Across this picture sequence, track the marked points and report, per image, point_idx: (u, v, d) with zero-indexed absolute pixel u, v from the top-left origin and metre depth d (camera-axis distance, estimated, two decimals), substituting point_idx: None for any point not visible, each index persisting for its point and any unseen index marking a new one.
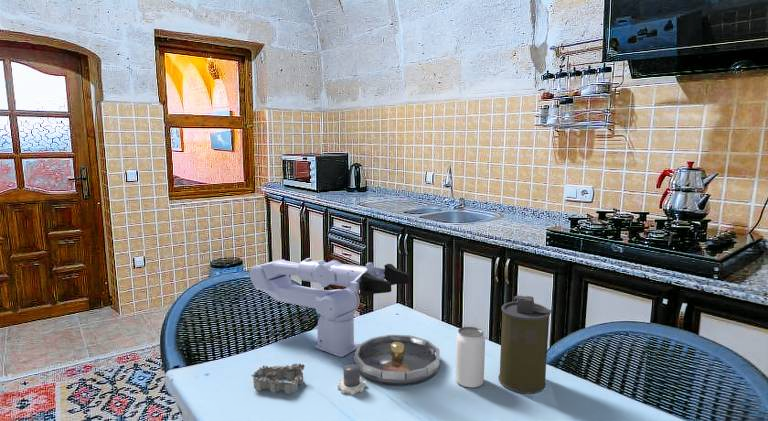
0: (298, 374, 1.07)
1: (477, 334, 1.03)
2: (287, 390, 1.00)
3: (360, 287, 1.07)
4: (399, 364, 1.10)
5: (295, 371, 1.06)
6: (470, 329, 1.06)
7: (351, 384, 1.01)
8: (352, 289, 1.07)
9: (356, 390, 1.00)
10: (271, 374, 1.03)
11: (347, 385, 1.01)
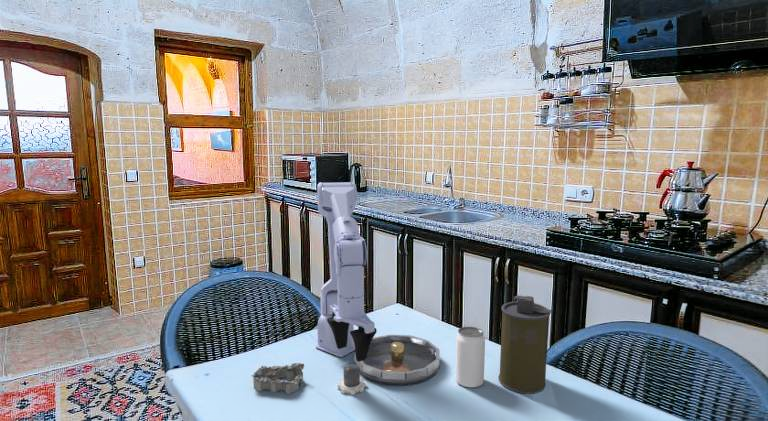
0: (297, 373, 1.07)
1: (477, 334, 1.03)
2: (288, 389, 1.00)
3: None
4: (399, 364, 1.10)
5: (295, 371, 1.07)
6: (470, 329, 1.06)
7: (351, 384, 1.01)
8: None
9: (356, 390, 1.00)
10: (271, 374, 1.03)
11: (347, 385, 1.01)
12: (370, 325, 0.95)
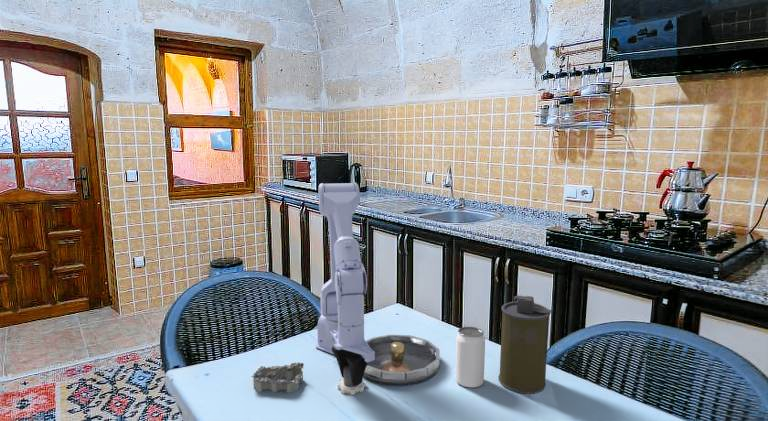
0: (297, 373, 1.07)
1: (477, 334, 1.03)
2: (289, 389, 1.00)
3: None
4: (399, 364, 1.10)
5: (294, 370, 1.07)
6: (470, 329, 1.06)
7: (351, 384, 1.01)
8: None
9: (356, 390, 1.00)
10: (271, 374, 1.03)
11: (347, 385, 1.01)
12: (370, 354, 0.96)
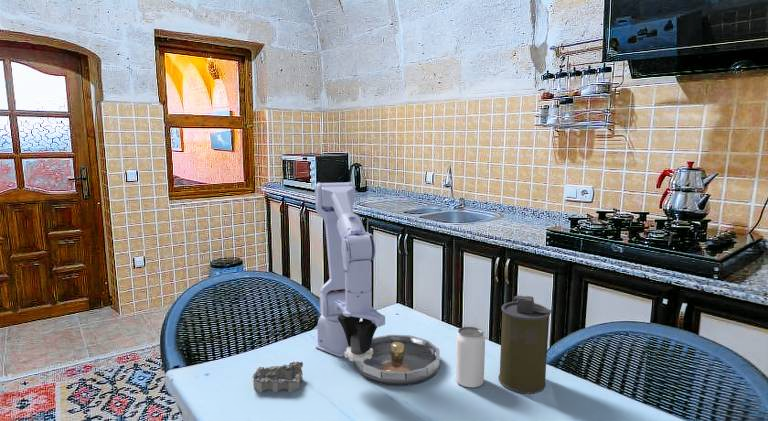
0: (296, 372, 1.07)
1: (477, 334, 1.03)
2: (291, 388, 1.01)
3: None
4: (399, 364, 1.10)
5: (293, 370, 1.07)
6: (470, 329, 1.06)
7: (359, 351, 1.01)
8: None
9: (365, 357, 1.00)
10: (271, 374, 1.03)
11: (355, 353, 1.01)
12: (381, 318, 0.96)
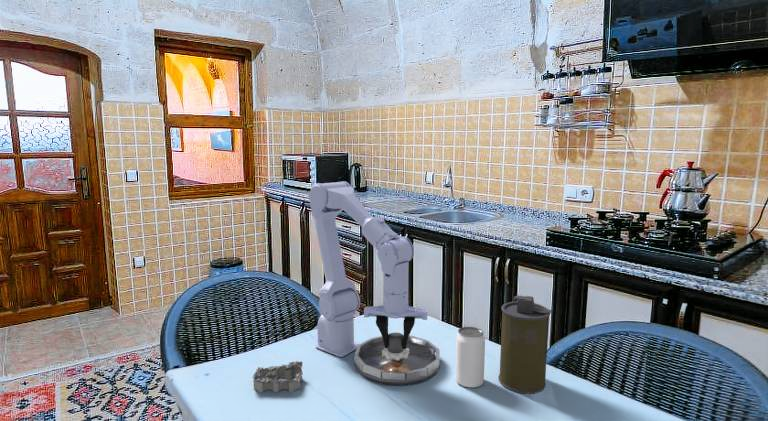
0: (295, 372, 1.08)
1: (477, 334, 1.03)
2: (291, 387, 1.01)
3: None
4: (399, 364, 1.10)
5: (292, 369, 1.07)
6: (470, 329, 1.06)
7: (401, 349, 1.06)
8: None
9: None
10: (271, 374, 1.03)
11: (397, 352, 1.05)
12: None
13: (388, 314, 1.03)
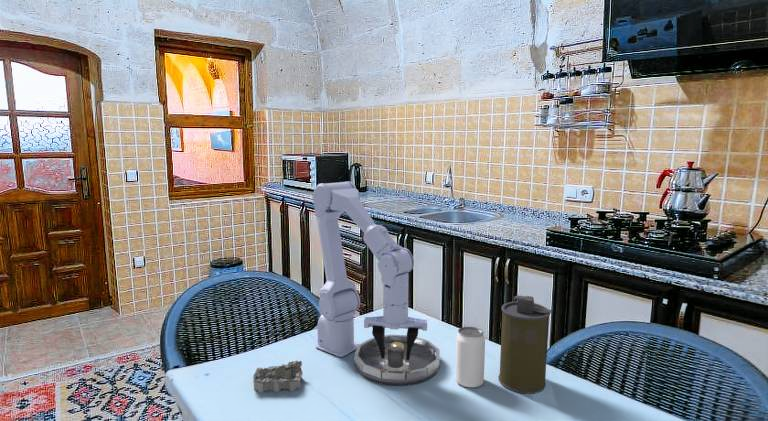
0: (295, 371, 1.08)
1: (477, 334, 1.03)
2: (292, 387, 1.01)
3: (373, 327, 1.07)
4: None
5: (292, 369, 1.07)
6: (470, 329, 1.06)
7: (401, 364, 1.06)
8: None
9: (406, 367, 1.07)
10: (271, 374, 1.03)
11: (397, 366, 1.06)
12: None
13: (388, 325, 1.04)
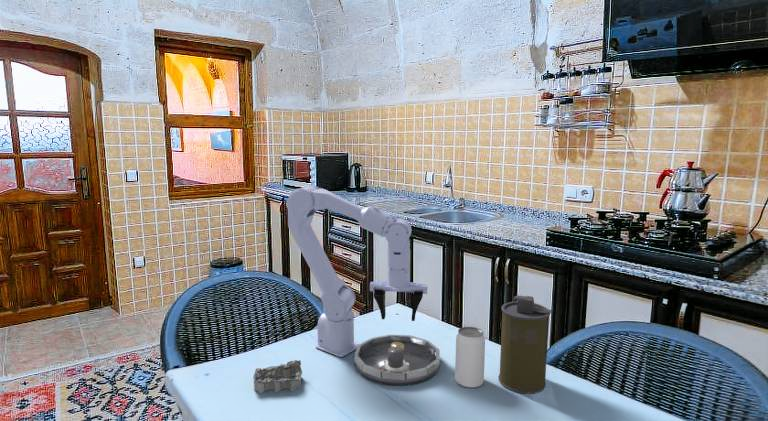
0: (293, 371, 1.08)
1: (477, 334, 1.03)
2: (293, 386, 1.02)
3: None
4: None
5: (291, 369, 1.08)
6: (470, 329, 1.06)
7: (401, 364, 1.06)
8: None
9: (406, 367, 1.07)
10: (271, 374, 1.03)
11: (397, 366, 1.06)
12: None
13: (391, 288, 1.14)
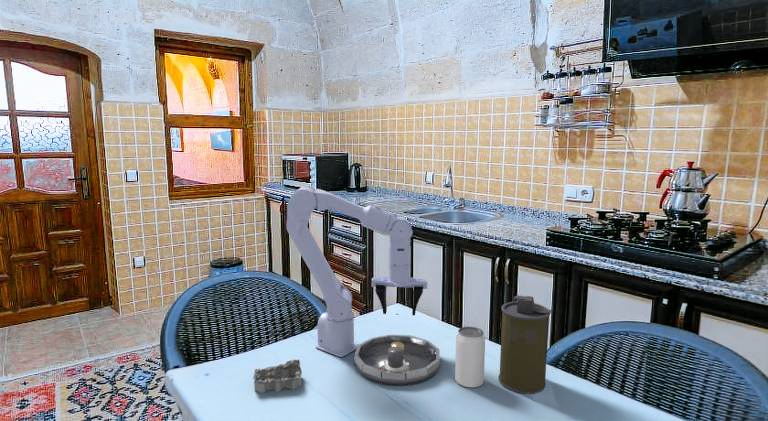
0: (292, 370, 1.08)
1: (477, 334, 1.03)
2: (294, 385, 1.02)
3: None
4: None
5: (290, 368, 1.08)
6: (470, 329, 1.06)
7: (401, 364, 1.06)
8: (372, 280, 1.22)
9: (406, 367, 1.07)
10: (271, 374, 1.03)
11: (397, 366, 1.06)
12: None
13: (393, 283, 1.18)
